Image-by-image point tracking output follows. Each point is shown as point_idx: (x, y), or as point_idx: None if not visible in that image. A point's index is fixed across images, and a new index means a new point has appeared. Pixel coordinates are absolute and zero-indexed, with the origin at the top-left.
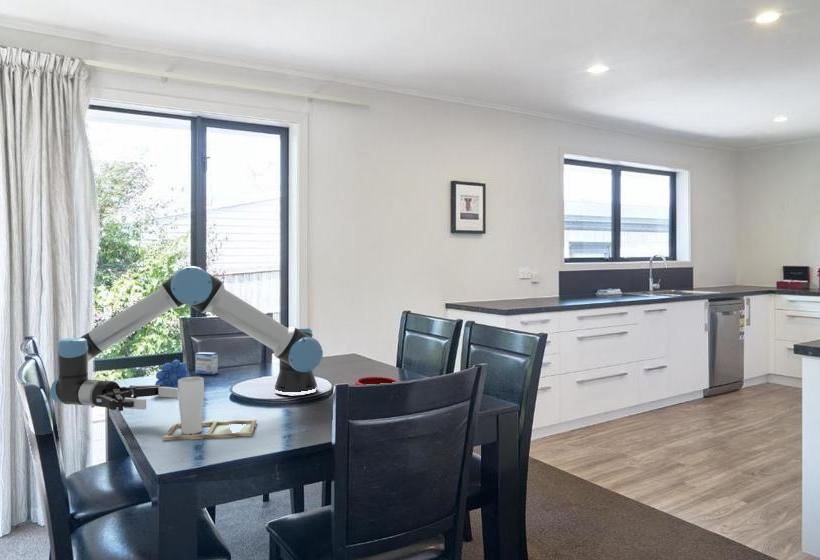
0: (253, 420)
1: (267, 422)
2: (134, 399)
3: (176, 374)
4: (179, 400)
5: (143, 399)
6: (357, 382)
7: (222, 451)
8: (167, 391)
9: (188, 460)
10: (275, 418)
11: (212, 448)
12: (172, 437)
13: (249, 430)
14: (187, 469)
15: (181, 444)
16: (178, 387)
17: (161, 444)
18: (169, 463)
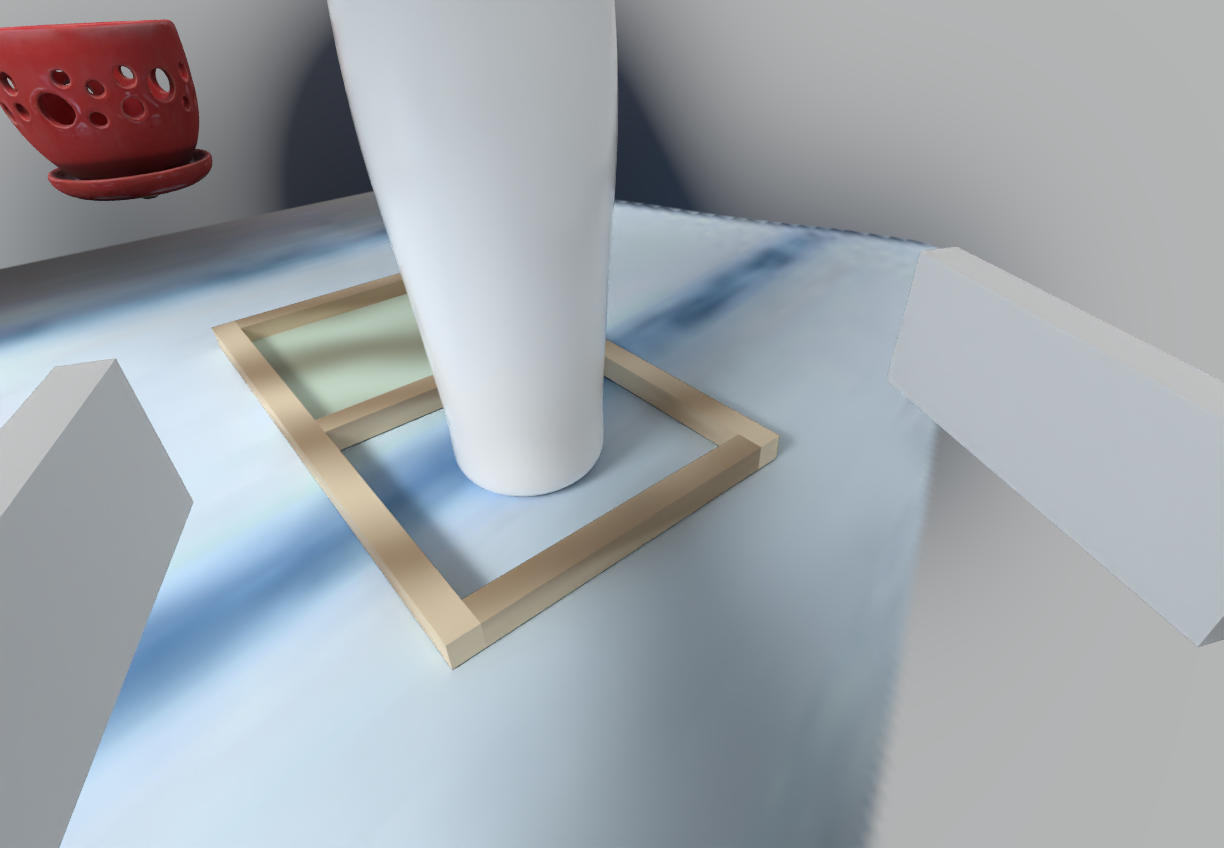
0: (238, 326)
1: (205, 324)
2: (1101, 328)
3: None
4: (612, 191)
5: (959, 257)
6: (108, 23)
7: (669, 253)
8: (57, 589)
9: (819, 263)
10: (110, 334)
11: (669, 279)
12: (726, 410)
13: None
14: (863, 234)
15: (729, 365)
16: (606, 40)
17: (815, 423)
18: (895, 276)
